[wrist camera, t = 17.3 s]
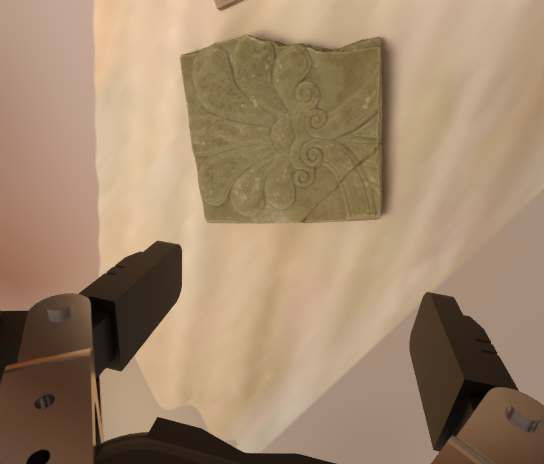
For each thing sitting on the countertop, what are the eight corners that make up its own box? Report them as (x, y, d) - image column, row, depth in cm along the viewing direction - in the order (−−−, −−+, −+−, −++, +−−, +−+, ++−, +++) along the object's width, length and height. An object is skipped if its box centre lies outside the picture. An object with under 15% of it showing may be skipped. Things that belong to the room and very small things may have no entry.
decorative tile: (380, 213, 39) (384, 225, 36) (212, 216, 43) (201, 226, 40) (386, 21, 32) (391, 14, 29) (185, 47, 36) (169, 43, 33)
